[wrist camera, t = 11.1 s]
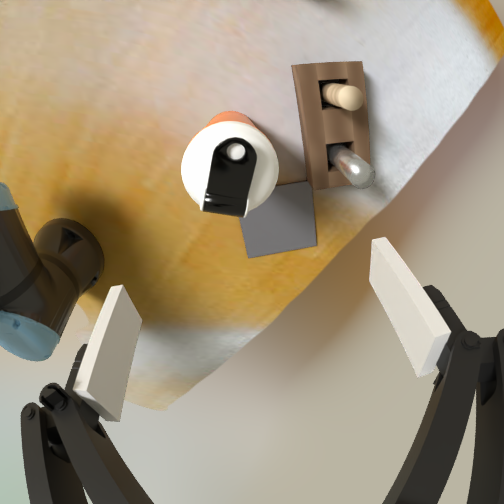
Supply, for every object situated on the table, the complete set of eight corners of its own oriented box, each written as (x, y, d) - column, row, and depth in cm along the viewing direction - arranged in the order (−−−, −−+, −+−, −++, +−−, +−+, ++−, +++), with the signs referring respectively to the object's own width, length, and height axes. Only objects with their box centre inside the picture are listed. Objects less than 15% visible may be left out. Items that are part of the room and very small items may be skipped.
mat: (248, 256, 53) (248, 258, 52) (233, 193, 46) (234, 194, 46) (315, 244, 52) (316, 245, 52) (310, 180, 46) (311, 181, 45)
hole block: (307, 180, 46) (313, 190, 42) (291, 65, 36) (297, 64, 32) (360, 172, 45) (370, 181, 42) (351, 61, 35) (362, 61, 32)
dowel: (317, 102, 39) (340, 111, 31) (315, 83, 37) (338, 86, 29) (337, 101, 39) (364, 109, 30) (334, 81, 37) (362, 85, 29)
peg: (323, 160, 44) (351, 190, 34) (321, 141, 42) (349, 164, 32) (343, 158, 44) (375, 186, 34) (341, 138, 42) (374, 162, 32)
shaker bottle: (263, 106, 39) (289, 131, 22) (259, 164, 44) (278, 230, 27) (199, 104, 38) (174, 128, 22) (199, 163, 43) (178, 228, 26)
